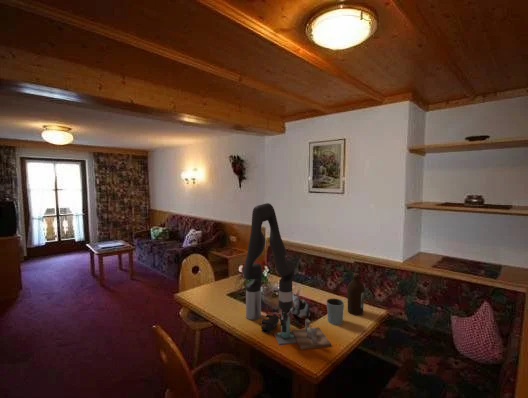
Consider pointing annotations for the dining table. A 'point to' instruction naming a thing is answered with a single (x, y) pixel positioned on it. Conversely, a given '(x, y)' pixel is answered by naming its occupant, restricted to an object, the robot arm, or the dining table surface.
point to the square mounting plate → (310, 337)
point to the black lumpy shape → (269, 323)
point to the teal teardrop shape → (287, 333)
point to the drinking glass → (335, 311)
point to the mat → (285, 339)
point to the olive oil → (355, 296)
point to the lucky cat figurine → (300, 308)
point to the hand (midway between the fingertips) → (285, 329)
